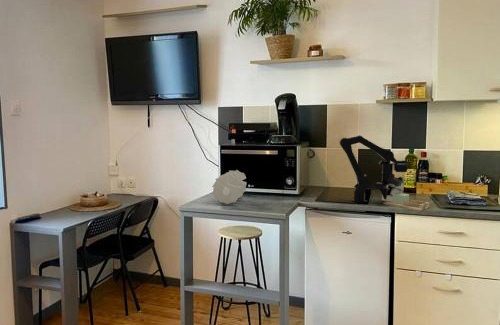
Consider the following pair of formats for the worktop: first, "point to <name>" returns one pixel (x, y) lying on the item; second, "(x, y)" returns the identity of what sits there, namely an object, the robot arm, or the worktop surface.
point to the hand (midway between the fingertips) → (386, 198)
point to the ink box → (397, 190)
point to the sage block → (397, 198)
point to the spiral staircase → (229, 187)
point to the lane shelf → (410, 205)
